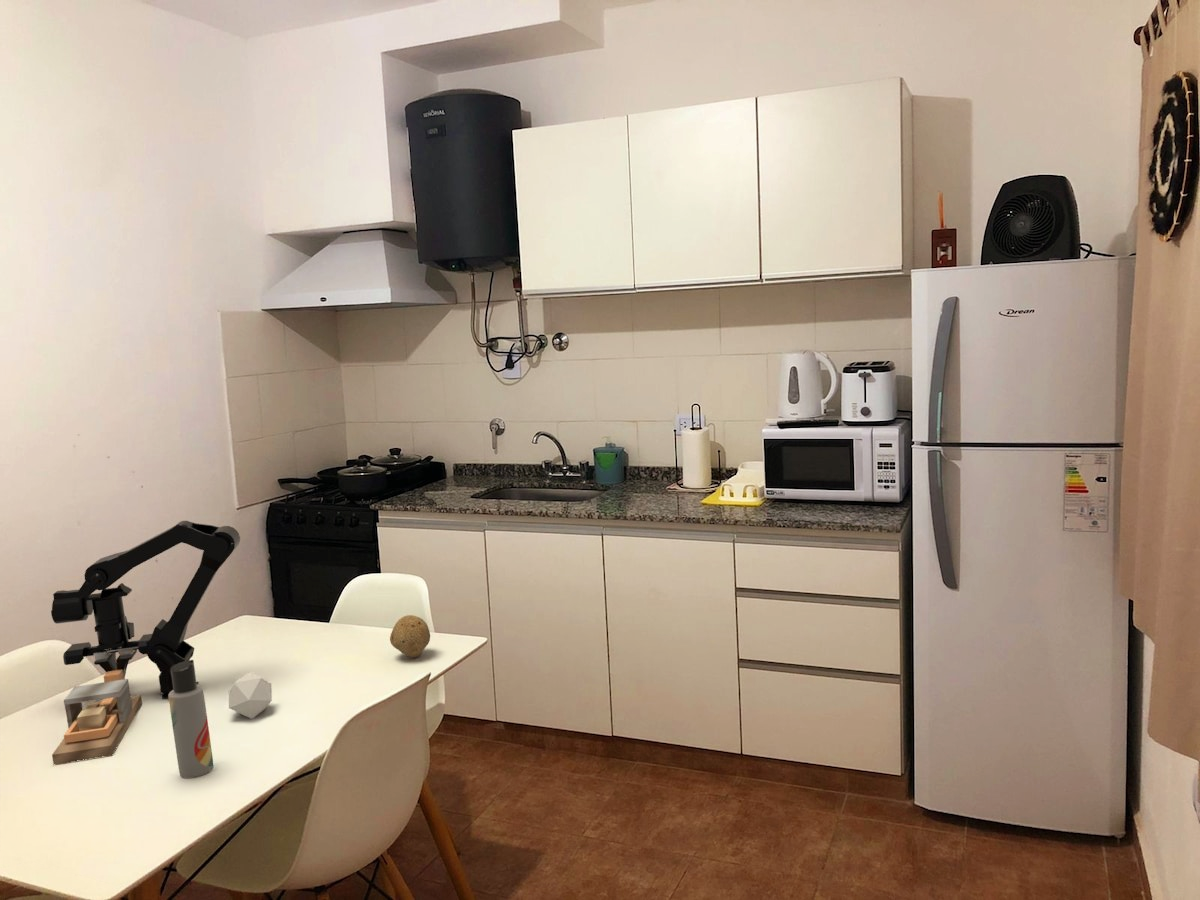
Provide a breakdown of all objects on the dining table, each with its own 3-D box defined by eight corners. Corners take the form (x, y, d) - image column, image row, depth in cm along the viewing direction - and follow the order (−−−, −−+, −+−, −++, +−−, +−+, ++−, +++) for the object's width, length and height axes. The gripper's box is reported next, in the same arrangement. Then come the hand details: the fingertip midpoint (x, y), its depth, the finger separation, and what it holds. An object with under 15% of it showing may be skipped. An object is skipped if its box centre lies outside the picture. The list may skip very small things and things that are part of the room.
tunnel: (142, 703, 201) (136, 666, 200) (112, 755, 177) (105, 712, 176) (91, 711, 199) (85, 673, 198) (53, 764, 175) (46, 721, 174)
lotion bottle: (220, 764, 170) (206, 659, 167) (198, 780, 165) (182, 671, 162) (195, 761, 172) (180, 657, 169) (172, 776, 167) (156, 669, 164)
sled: (137, 689, 203) (134, 667, 202) (108, 736, 180) (104, 711, 179) (98, 695, 201) (95, 673, 201) (64, 742, 178) (60, 718, 178)
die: (282, 714, 192) (279, 669, 196) (252, 710, 185) (249, 663, 189) (251, 727, 194) (248, 681, 199) (220, 723, 187) (217, 676, 191)
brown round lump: (385, 663, 215) (380, 621, 213) (402, 649, 223) (398, 609, 222) (422, 664, 213) (418, 622, 211) (437, 650, 221) (433, 609, 220)
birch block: (108, 725, 186) (105, 705, 186) (102, 733, 182) (99, 714, 182) (85, 728, 185) (82, 709, 185) (79, 737, 182) (76, 717, 181)
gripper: (164, 600, 212) (174, 666, 214) (74, 611, 208) (84, 679, 210) (153, 615, 201) (163, 684, 203) (57, 627, 197) (68, 698, 199)
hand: (120, 686), depth 204 cm, fingers closed
